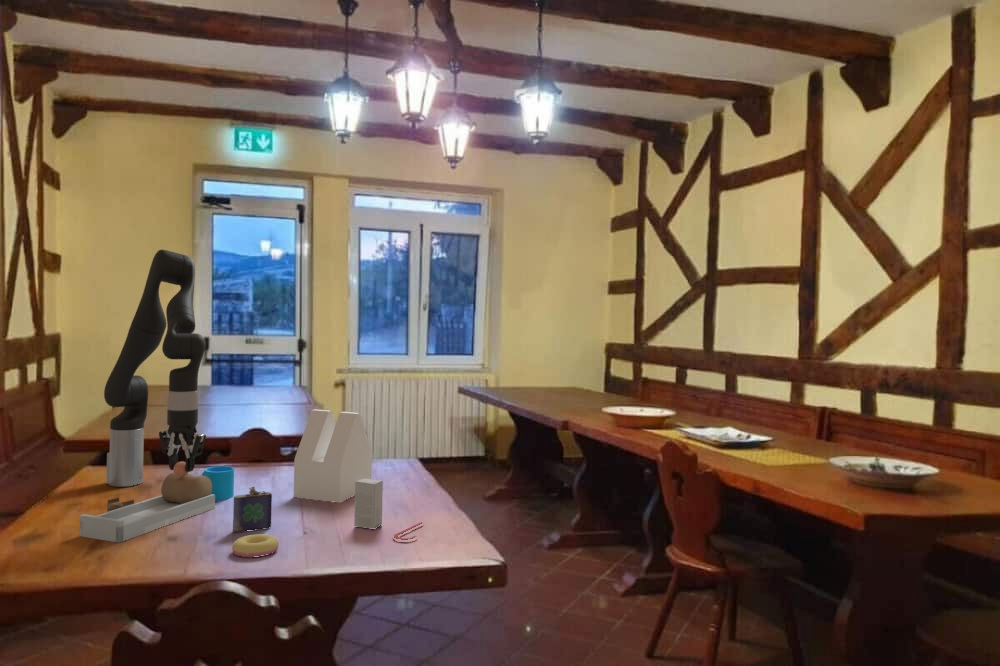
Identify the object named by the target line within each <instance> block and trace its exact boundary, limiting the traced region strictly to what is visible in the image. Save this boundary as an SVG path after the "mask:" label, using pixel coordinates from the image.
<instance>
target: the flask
mask: <svg viewBox="0 0 1000 666" xmlns="http://www.w3.org/2000/svg"><path fill="white" fill-rule="evenodd" d="M272 497H273V494H272V493H271V492H269V491H257V490H256V487H255V486H252V487H249V492H248V493H246V494H238V495H234V496H233V514H232V515H233V517H232V519H233V520H232V532H233V533H234V532H236V533H237V532H242V533H244V532H243V531H247V530H255V529H263V528H269V527H270V528H272V504H273V503H272V502H273V499H272ZM255 531H256V530H255Z"/></svg>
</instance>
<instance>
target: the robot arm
mask: <svg viewBox="0 0 1000 666" xmlns="http://www.w3.org/2000/svg"><path fill="white" fill-rule="evenodd" d="M195 277H196V266H195V261H194V259H193V258H192V257H191V256H188V255H185V254H182V253H178V252H175V251H171V250H167V249H159V250H157V252H156V253H155V255H154V256H153V259H152V261H151V264H150V268H149V271H148V275H147V278H146V282H145V286H144V288H143V293H142V296H141V298H140V300H139V303H138V307H137V309H136V311H135V314H134V316H133V318H132V321H131V324H130V326H129V328H128V331H127V332H128V333H127V335H126V339H125V341H124V344H123V346H122V348H121V351H120V354H119V356H118V358H117V360H116V363H115V365H114V366H113V369H112V370H111V373H110V375H109V376H108V378H107V380H106V383H105V387H104V392H103V397H104V401H105V403H106V404H107V405H108V406H110V407H113V408H122V407H123V410H122V411H121V412H120V413H119V414H118V415H116V416H114V417H112V419H111V420H110V422H109V452H107V453H106V484H107V485H109V486H111V487H117V488H118V487H125V488H126V487H131V486H132V487H133V485H134V486H138V485H140V484H143V482H144V448H145V447H144V444H145V443H144V440H145V438H144V437H145V435H144V434H145V421H146V418H147V415H148V401H149V386H148V383H147V380H146V379H145V377H143V376H141V375H135V374H136V371H137V370H138V368H139V367H141V365H142V364H143V363H144V362H145V361H146V360H147V359H148V358H149V357H150V356H151V355H152V354H153V353H154V352H155V351H156V350H157V349H158V348H159V346H160V344H161V343H162V345H161V346H162V353H163V355H164V357H165V358H167V359H169V360H189V362H188V364H187V365H185V366H183V367H178V368H173V369H171V370H170V371H169V375H168V396H167V410H166V411H167V412H166V413H167V414H166V415H167V417H166V418H167V419H166V424H167V426H168V428H167V429H166V430H161V431H159V433H158V436H159V441H160V446H161V447H160V448H161V452H162V453H163V454H166V455H167V456H168V467H169V470H171V471H173V468H174V466H175V464H176V463H178V462H179V455H178V453H179V450H180V448H181V447H182V450H183V451H184V455H185V462H186V465H185V471H186V472H188V473H191V472H193V471H194V470H195V462H196V461H195V459H196V457H197V456H201V455H202V453H203V450H204V445H205V441H206V437H207V436H206V434H205V433H199V432H198V431H197V428H196V427H197V424H198V422H199V420H198V419H199V395H198V386H199V385H198V382H199V381H198V380H199V379H198V378H199V377H198V376H199V370H200V366H201V362H202V360H203V357H204V354H205V351H206V346H207V344H206V339H205V338H204V336H203V335H202V334H199V333H194V331H195V330H196V319H195V312H194V295H195V294H194V293H195ZM161 283H166V284H167V283H168V284H171V285H176V286H180V290H179V291H178V292H176V294H175V295H174V296H173V297H171V299H170V300H169V302H168V303H167V306H166V310H165V312H164V309H163V307H162V303H161V300H160V287H161ZM165 313H166V314H165ZM165 331H166V333H165ZM164 334H165V336H164ZM163 337H164V339H163ZM162 339H163V342H161V341H162ZM137 484H138V485H137Z"/></svg>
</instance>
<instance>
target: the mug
mask: <svg viewBox="0 0 1000 666" xmlns="http://www.w3.org/2000/svg"><path fill="white" fill-rule="evenodd" d="M200 475H201V476H207V477H208V478H209V479H210V480H211V483H212V492H211V494H215V502H216V501H226V500H229V498H230V499H232V498H234V497H235V495H234V493H235V492H234V491H235V489H234V487H235V485H234V484H235V468H234V467H233V466H229V465H226V466H225V465H224V466H223V465H219V466H210V467H206V468H205V469H204V470H203V472H202V473H201V474H200ZM225 499H226V500H225Z"/></svg>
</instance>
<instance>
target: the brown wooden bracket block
mask: <svg viewBox="0 0 1000 666" xmlns="http://www.w3.org/2000/svg"><path fill="white" fill-rule="evenodd" d="M106 504H107V505H106V506H107V507H106V509H107V510H106V513H107V512H109V511H112V510H115V509H119V508H122V507H125V506H128V505H132V504H135V500H134V499H128V500H126V501H121V500H120V497H118V496H116V497H113V498H110V499H107V503H106Z"/></svg>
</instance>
